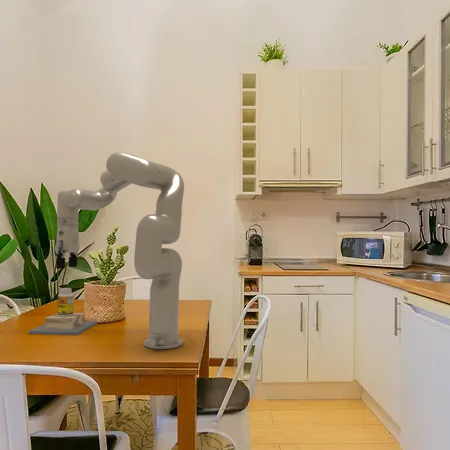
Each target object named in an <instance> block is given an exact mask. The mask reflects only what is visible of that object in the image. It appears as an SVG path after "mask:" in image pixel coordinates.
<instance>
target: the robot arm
mask: <svg viewBox="0 0 450 450" xmlns="http://www.w3.org/2000/svg"><path fill="white" fill-rule="evenodd" d="M105 163H106V165H105V166H106V167H105V168H106V170H105V171H103V172H101V174H100V178H99V179H100V183H101V186H102V187H101V188H100V189H98V190H89V189H81V188H74V189H70V190H60V191H59V192H58V193H57V211H56V213H57V215H56V217H57V220H56V221H57V222H56V223H57V225H56V227H57V229H56V230H57V232H56V239H55V240H56V243H55V245H54V254H55V269H58V270H61V269H63V270H64V269H66V257H65V256H66V254H67V253H68V255H69V256H68V267H69V268H77V267H78V256H79V255H78V253H79V252H80V234H79V231H80V230H79V210H85V211H87V210H88V211H99V210H101V209H104V208H105V207H107V206H109V205H110V204H112V203H113V202H114V200H115V199H116V197H117V195H118V192H120V191H122V190H123V189H125V188H127V187H128V186H130V185H131V184H133V185H136V186H137V187H138V186H139V187H142V188H148V189H154V190H158V191H160V193H159V194H158V197H157V200H156V205H155V206H156V208H155V214H147V215H145V216H144V217H142V218H141V219H140V220H139V222H138V224H137V228H136V232H135V233H136V234H135V242H134V243H135V246H134V256H133V257H134V259H133V260H134V261H133V263H134V271H135V272H136V274H137V275H138V276H139V278H141V279H144V280H151V285H150V287H149V288H150V289H149V313H148V314H149V316H148V318H149V321H148V338H146V339H144V341H143V345H144V347H146V348H149V349H152V350H171V349H175V348H178V347H181V346H183V344H184V343H183V342H184V341H183V339H182V338H181V337H179V303H180V302H179V300H180V299H179V298H180V297H179V296H180V280H181V274H182V269H183V261H182V256H181V255H180V253H179V252H178V251H176V250H175V249H173V248H168V247H163V245H171V244H174V243H176V242H177V241H178V240H179V239H180V236H181V227H182V226H181V225H182V215H183V212H182V211H183V199H184V192H185V182H184V179H183V177H182V175H181V174H180V172H178V171H176V170H175V169H173V168H171V167H170V166H167V165H164V164H161V163H157V162H154V161H153V162H152V161H149V160H148V159H147V160H146V159H143V158H140V157H139V156H137V155H134V154H131V153H127V152H124V151H116V152H113V153H112V154H110V155H109V156H108V158H107V159H106V162H105ZM162 247H163V248H162Z"/></svg>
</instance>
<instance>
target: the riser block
mask: <svg viewBox="0 0 450 450" xmlns="http://www.w3.org/2000/svg"><path fill="white" fill-rule="evenodd" d="M84 314H85V313H84V312H73V315H71V316H66V317H61V316H58V312H57V313H54V314H52V315H49V316H47V317H45V323H44V324H45V329H73V328H75V327H77V326H79V325H81V324H83V323H84V321H85V320H84V317H85V315H84Z"/></svg>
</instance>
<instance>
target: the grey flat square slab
mask: <svg viewBox="0 0 450 450" xmlns="http://www.w3.org/2000/svg"><path fill="white" fill-rule="evenodd" d="M45 324H46V323H43V324H42V325H40V326H37V327H35V328H32V329H31V330H28V335H58V336H79V335H81V334H82V333H84V332H85V331H87V330H89V329H91V328H93V327H94V326H97V325H98V321H96V320H95V321H93V320H84V323H83V324H81V325H79V326H77V327H75V328H73V329H45Z"/></svg>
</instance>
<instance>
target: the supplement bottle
mask: <svg viewBox="0 0 450 450" xmlns="http://www.w3.org/2000/svg"><path fill="white" fill-rule="evenodd" d="M59 290H60V293H58V294H57V313H58V316H61V317H66V316H71V315H73V313H74V302H75V301H74V297H75V294H74V293H73V291H72V287H63V288H60V289H59Z"/></svg>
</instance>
